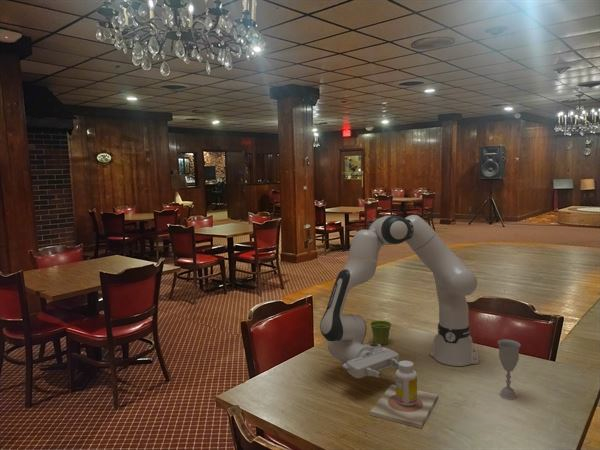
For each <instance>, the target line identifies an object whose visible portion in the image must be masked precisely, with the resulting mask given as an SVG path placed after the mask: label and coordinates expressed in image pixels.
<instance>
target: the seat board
mask: <svg viewBox="0 0 600 450" xmlns="http://www.w3.org/2000/svg"><path fill="white" fill-rule="evenodd" d="M438 399H439V394H437V393H432V392H427V391H425V390H424V391H423V390H418V389H417V403H416V404H415V405H412V406H404V405H401V404H399V403H398V402H397V400H396V384H390V385H389V387H388V388H387V389H386V391H385V392H384V393H383V394H382V396H381V397H380V398H379V400H378V401H377V402H376V403H375V405H374V406H373V407H372V408H371V410H370V411H369V415H370V416H373V417H377V418H380V419H384V420H387V421H391V422H396V423H399V424H403V425H407V426H411V427H414V428H418V429H422V428H423V427H424V425H425V423H426V421H427V419H428V417H429V415H430V414H431V412H432V410H433V408H434V406H435V405H436V403H437V401H438Z"/></svg>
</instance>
